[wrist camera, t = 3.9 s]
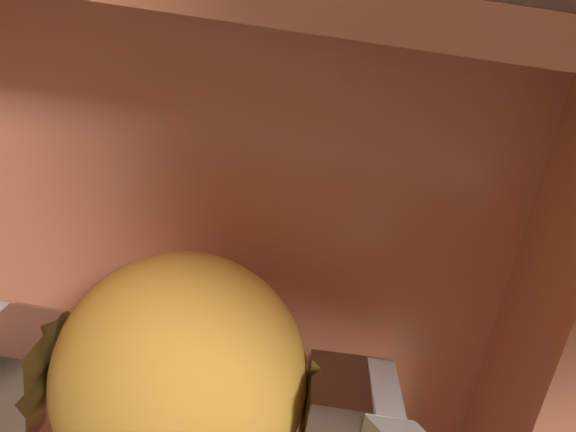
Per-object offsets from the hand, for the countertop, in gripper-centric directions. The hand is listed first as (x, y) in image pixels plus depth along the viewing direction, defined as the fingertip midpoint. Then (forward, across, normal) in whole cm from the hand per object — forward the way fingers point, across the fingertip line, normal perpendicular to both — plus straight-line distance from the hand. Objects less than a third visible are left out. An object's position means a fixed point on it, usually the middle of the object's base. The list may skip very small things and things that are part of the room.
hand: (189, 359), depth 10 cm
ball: (0, 0, 0) cm, 0 cm away
